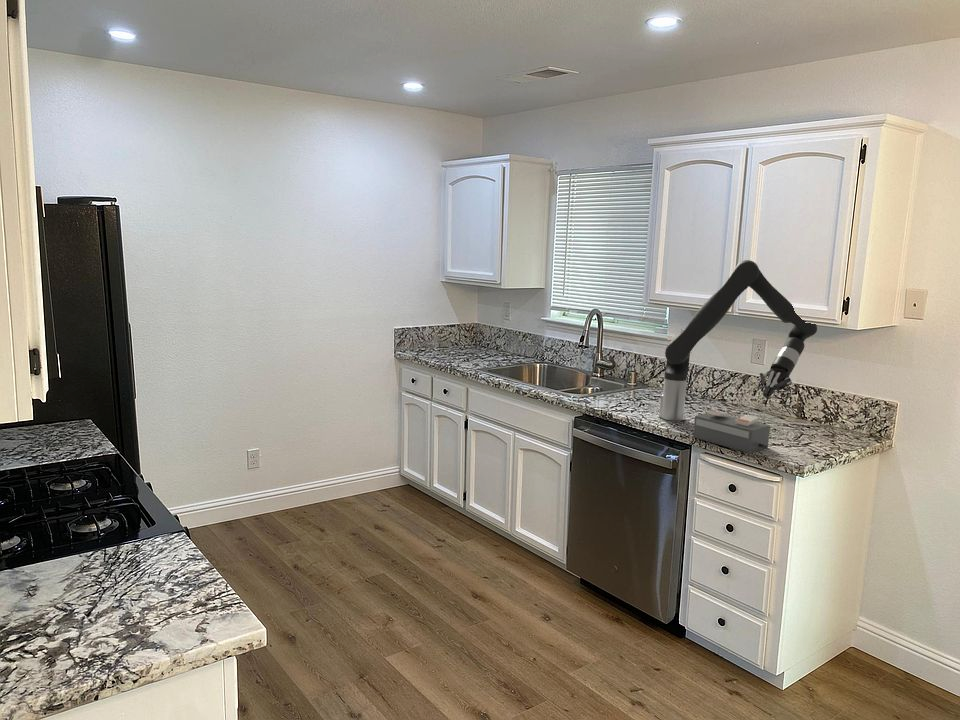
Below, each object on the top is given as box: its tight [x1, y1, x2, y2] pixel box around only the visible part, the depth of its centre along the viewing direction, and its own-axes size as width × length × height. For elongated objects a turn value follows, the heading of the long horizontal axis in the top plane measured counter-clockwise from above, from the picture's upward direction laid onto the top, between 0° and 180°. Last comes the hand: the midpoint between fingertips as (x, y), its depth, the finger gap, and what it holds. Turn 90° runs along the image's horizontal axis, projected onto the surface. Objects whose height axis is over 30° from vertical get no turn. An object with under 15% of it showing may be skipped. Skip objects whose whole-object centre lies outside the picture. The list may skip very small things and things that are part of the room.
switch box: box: [692, 412, 771, 454], centre depth 269 cm, size 27×12×8 cm, turn 39°
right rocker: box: [735, 414, 759, 426], centre depth 264 cm, size 5×7×1 cm
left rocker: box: [706, 409, 730, 417], centre depth 274 cm, size 5×7×1 cm
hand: (765, 396), depth 270 cm, fingers closed
